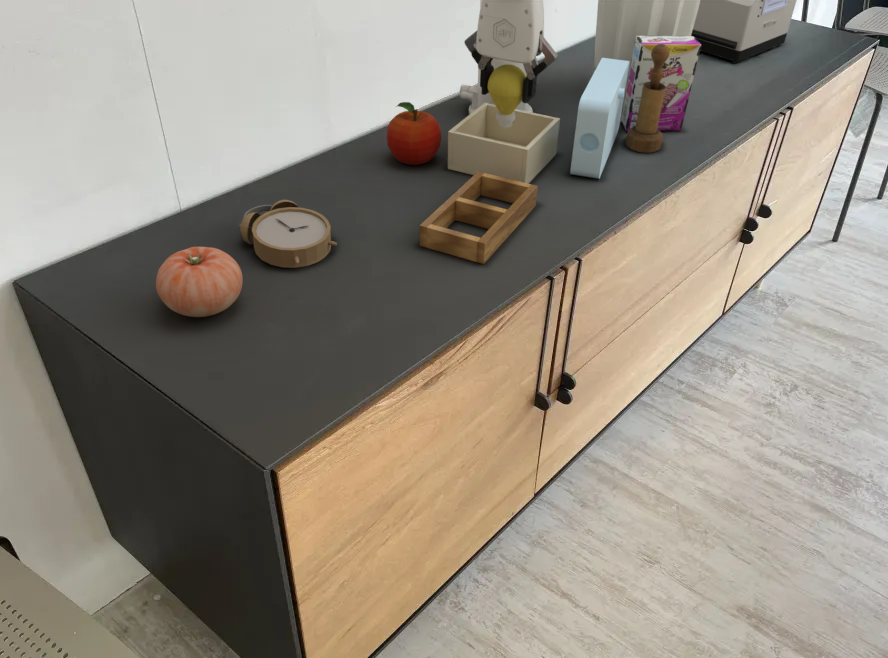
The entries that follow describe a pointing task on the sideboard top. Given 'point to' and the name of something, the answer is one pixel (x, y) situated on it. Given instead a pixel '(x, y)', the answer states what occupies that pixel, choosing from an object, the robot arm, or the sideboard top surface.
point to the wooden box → (503, 144)
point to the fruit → (413, 136)
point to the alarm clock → (287, 234)
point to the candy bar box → (674, 78)
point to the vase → (639, 24)
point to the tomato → (199, 281)
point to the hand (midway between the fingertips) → (507, 95)
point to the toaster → (741, 26)
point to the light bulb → (506, 92)
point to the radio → (599, 117)
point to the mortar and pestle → (650, 107)
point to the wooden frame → (478, 217)
